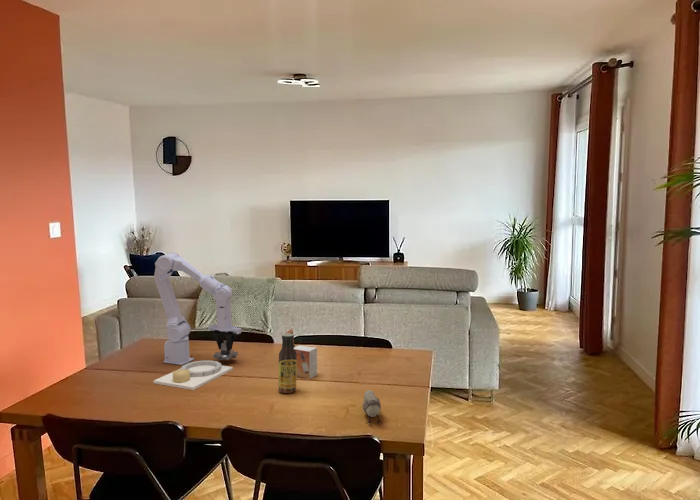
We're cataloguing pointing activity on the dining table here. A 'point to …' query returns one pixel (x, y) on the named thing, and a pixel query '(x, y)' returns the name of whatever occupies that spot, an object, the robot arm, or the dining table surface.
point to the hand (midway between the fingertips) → (225, 349)
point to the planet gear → (225, 352)
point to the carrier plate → (193, 379)
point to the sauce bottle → (287, 365)
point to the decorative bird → (371, 405)
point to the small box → (306, 361)
